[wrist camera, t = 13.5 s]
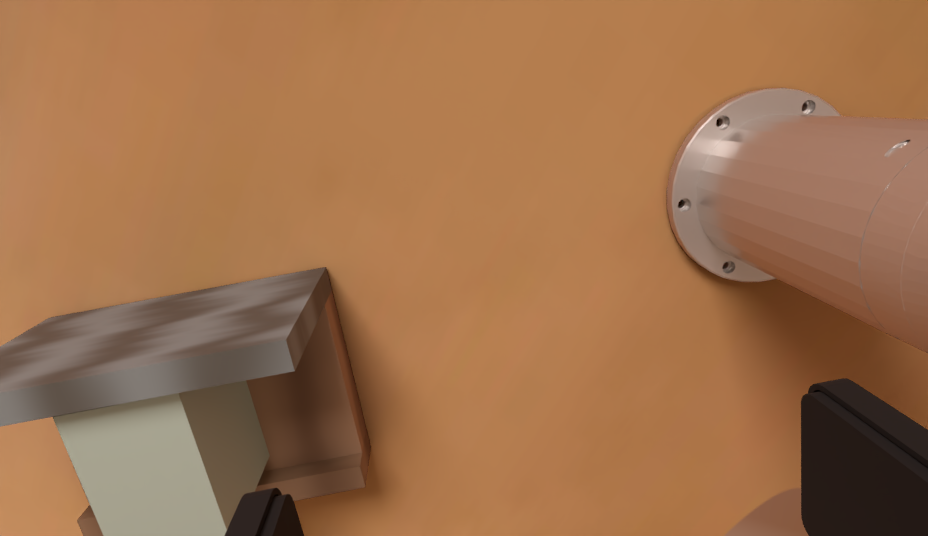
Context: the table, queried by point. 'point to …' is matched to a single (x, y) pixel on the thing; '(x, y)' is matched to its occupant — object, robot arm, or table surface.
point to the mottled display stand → (209, 371)
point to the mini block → (168, 460)
